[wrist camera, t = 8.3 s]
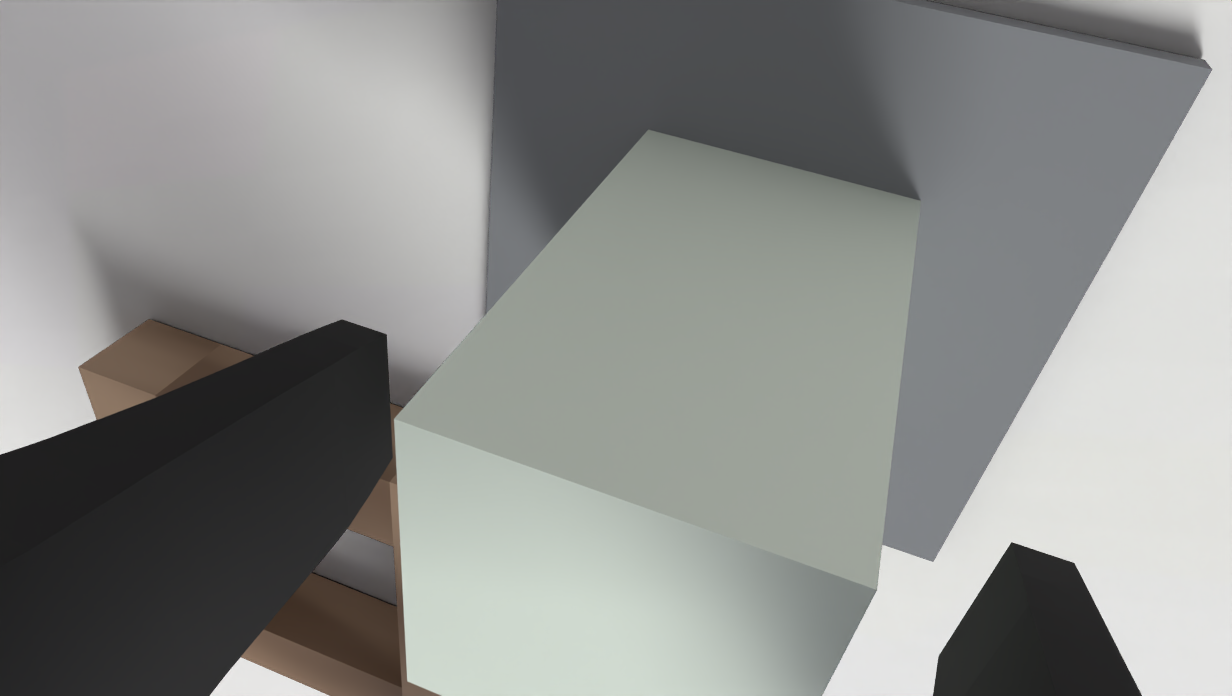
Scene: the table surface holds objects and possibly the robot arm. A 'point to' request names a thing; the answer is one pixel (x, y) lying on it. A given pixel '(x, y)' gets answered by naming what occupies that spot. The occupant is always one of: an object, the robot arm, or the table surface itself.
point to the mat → (864, 169)
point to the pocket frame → (319, 609)
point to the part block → (664, 441)
